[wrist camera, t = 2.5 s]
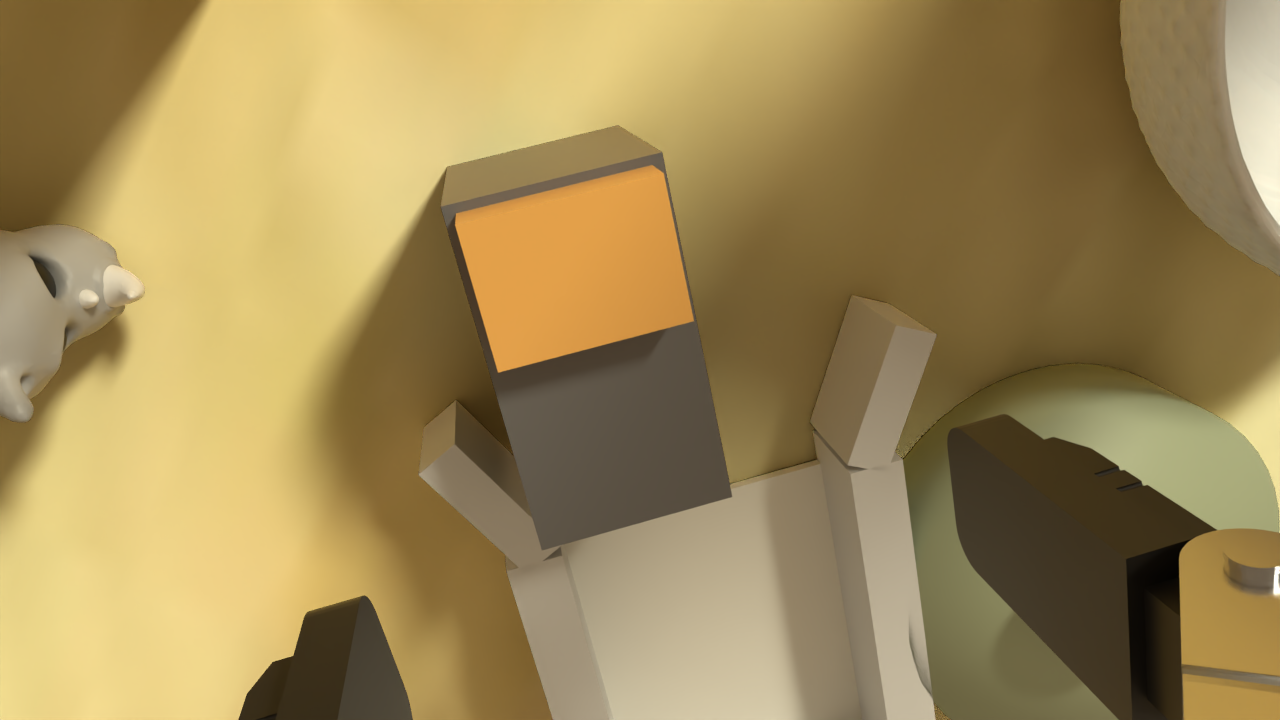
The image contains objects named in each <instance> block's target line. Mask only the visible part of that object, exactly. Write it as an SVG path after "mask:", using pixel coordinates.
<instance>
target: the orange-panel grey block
mask: <svg viewBox="0 0 1280 720" xmlns="http://www.w3.org/2000/svg"><path fill="white" fill-rule="evenodd" d="M441 210H442V213H443V217H444V220H445V223H446V227H447V230H448V234H449V237H450V240H451V244H452V247H453V251H454V254H455V257H456V261H457V264H458V268H459V271H460V274H461V278H462V281H463V285H464V288H465V291H466V295H467V298H468V301H469V305H470V308H471V312H472V315H473V318H474V322H475V325H476V329H477V332H478V335H479V339H480V342H481V346H482V349H483V352H484V356H485V359H486V363H487V366H488V369H489V373H490V376H491V379H492V383H493V386H494V390H495V393H496V396H497V400H498V403H499V407H500V410H501V413H502V417H503V420H504V424H505V427H506V430H507V434H508V437H509V441H510V444H511V447H512V451H513V454H514V457H515V461H516V464H517V468H518V471H519V474H520V478H521V481H522V485H523V488H524V491H525V495H526V498H527V502H528V505H529V508H530V512H531V515H532V519H533V522H534V525H535V529H536V532H537V536H538V539H539V542H540V546H541V549H542V550H546V549H549V548H553V547H556V546H560V545H564V544H567V543H571V542H574V541H578V540H581V539H585V538H588V537H592V536H596V535H599V534H603V533H606V532H610V531H613V530H617V529H620V528H624V527H628V526H631V525H635V524H638V523H642V522H645V521H649V520H652V519H656V518H660V517H663V516H667V515H670V514H674V513H677V512H681V511H684V510H688V509H691V508H695V507H699V506H702V505H706V504H709V503H713V502H716V501H720V500H723V499H727V498H731V497H732V492H731V488H730V483H729V478H728V473H727V468H726V463H725V458H724V453H723V448H722V443H721V438H720V434H719V429H718V424H717V419H716V414H715V409H714V404H713V399H712V394H711V389H710V384H709V380H708V375H707V370H706V365H705V360H704V355H703V350H702V345H701V340H700V335H699V330H698V326H697V321H696V316H695V311H694V306H693V301H692V296H691V291H690V286H689V281H688V277H687V272H686V267H685V262H684V257H683V252H682V247H681V242H680V237H679V232H678V227H677V223H676V218H675V213H674V208H673V203H672V198H671V193H670V188H669V183H668V178H667V173H666V169H665V164H664V159H663V154H662V152H661V151H659V150H658V149H656V148H655V147H653V146H651V145H650V144H648V143H646V142H645V141H643V140H641V139H640V138H638V137H637V136H635V135H633V134H632V133H630V132H628V131H627V130H625V129H623V128H622V127H620V126H619V125H617V126H613V127H609V128H605V129H601V130H597V131H593V132H588V133H584V134H580V135H576V136H572V137H568V138H564V139H560V140H555V141H551V142H547V143H543V144H539V145H535V146H531V147H527V148H522V149H518V150H514V151H510V152H506V153H502V154H498V155H494V156H490V157H485V158H481V159H477V160H473V161H469V162H465V163H461V164H457V165H452V166H448V167H447V171H446V177H445V183H444V189H443V195H442V201H441Z"/></svg>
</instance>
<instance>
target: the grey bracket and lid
mask: <svg viewBox="0 0 1280 720" xmlns="http://www.w3.org/2000/svg"><path fill="white" fill-rule="evenodd" d="M936 336H937V334H936V333H934V332H933V331H931V330H930V329H928V328H927V327H925V326H923V325H922V324H920V323H919V322H917V321H916V320H914V319H912V318H911V317H909V316H908V315H906V314H905V313H903V312H902V311H900V310H898V309H897V308H895V307H894V306H892V305H891V304H889V303H885V302H880V301H876V300H871V299H867V298H863V297H858V296H854V295H851V298H850V301H849V304H848V307H847V310H846V314H845V317H844V320H843V323H842V326H841V329H840V332H839V335H838V338H837V341H836V344H835V347H834V350H833V353H832V356H831V359H830V362H829V365H828V368H827V371H826V374H825V377H824V380H823V383H822V386H821V389H820V392H819V395H818V398H817V401H816V404H815V407H814V410H813V414H812V417H811V420H810V423H811V424H812V425H813V427H814V428H815V429H816V430H812V431H813V437H814V443H815V449H816V455H817V460H814V461H810V462H807V463H803V464H800V465H796V466H793V467H789V468H785V469H782V470H778V471H775V472H771V473H768V474H764V475H760V476H757V477H753V478H750V479H746V480H743V481H739V482H735V483H732V484H730V488H731V492H732V497H731V498H727V499H723V500H720V501H716V502H713V503H709V504H706V505H702V506H699V507H695V508H691V509H688V510H684V511H681V512H677V513H674V514H670V515H667V516H663V517H660V518H656V519H652V520H649V521H645V522H642V523H638V524H635V525H631V526H628V527H624V528H620V529H617V530H613V531H610V532H606V533H603V534H599V535H596V536H592V537H588V538H585V539H581V540H578V541H574V542H571V543H567V544H564V545H560V546H556V547H553V548H549V549H546V550H542V549H541V546H540V542H539V539H538V536H537V532H536V529H535V525H534V522H533V519H532V515H531V512H530V508H529V505H528V502H527V498H526V495H525V491H524V488H523V485H522V481H521V478H520V474H519V471H518V468H517V464H516V461H515V457H514V456H513V455H512V454H511V453H510V452H509V451H508V450H507V449H506V448H505V447H504V446H503V445H502V444H501V443H500V442H499V441H498V440H497V439H496V438H495V437H494V436H493V435H492V434H491V433H490V432H489V431H488V430H487V429H485V428H484V427H483V426H482V425H481V424H480V423H479V422H478V421H477V420H476V419H475V418H474V417H473V416H472V415H471V414H470V413H469V412H468V411H467V410H466V409H465V408H464V407H463V406H462V405H461V404H460V403H459V402H458V401H457V400H455V401H454V402H453V403H452V404H451V405H449V406H448V407H447V408H446V409H445V410H444V411H442V412H441V413H440V414H439V415H438V416H437V417H435V418H434V419H433V420H432V421H431V422H430V423H428V424H427V425H426V426H425V427H424V430H423V438H422V447H421V456H420V464H419V473H418V475H419V476H420V477H421V478H422V479H423V480H424V481H425V482H426V483H428V484H429V485H430V486H431V487H432V488H433V489H434V490H435V491H436V492H437V493H438V494H440V495H441V496H442V497H443V498H444V499H445V500H446V501H447V502H448V503H449V504H450V505H451V506H453V507H454V508H455V509H456V510H457V511H458V512H459V513H460V514H461V515H462V516H463V517H465V518H466V519H467V520H468V521H469V522H470V523H471V524H472V525H473V526H474V527H475V528H476V529H478V530H479V531H480V532H481V533H482V534H483V535H484V536H485V537H486V538H487V539H488V540H490V541H491V542H492V543H493V544H494V545H495V546H496V547H497V548H498V549H499V550H500V551H501V552H503V553H504V554H505V559H506V572H507V575H508V578H509V582H510V585H511V588H512V591H513V594H514V597H515V601H516V604H517V607H518V610H519V613H520V617H521V620H522V623H523V626H524V629H525V632H526V636H527V639H528V642H529V645H530V648H531V652H532V655H533V658H534V661H535V664H536V668H537V671H538V674H539V677H540V680H541V683H542V687H543V690H544V693H545V696H546V699H547V703H548V706H549V709H550V712H551V715H552V718H553V720H936V719H935V711H934V703H935V704H936V705H937V706H938V707H939V709H940V710H941V711H942V712H943V713H944V714H945V715H946V716H947V717H948V718H950V719H951V720H1118V719H1117V718H1116V717H1115V715H1114V714H1113V713H1112V712H1111V711H1110V710H1109V709H1108V708H1107V707H1106V706H1105V705H1104V704H1103V703H1102V702H1101V701H1100V700H1099V699H1098V698H1097V697H1096V696H1095V695H1094V694H1093V693H1092V692H1091V691H1090V690H1089V688H1088V687H1087V686H1086V685H1085V684H1084V683H1083V682H1082V681H1081V680H1080V679H1079V678H1078V677H1077V676H1076V675H1075V674H1074V673H1073V672H1072V671H1071V670H1070V669H1069V668H1068V667H1067V666H1066V665H1065V664H1064V663H1063V662H1062V660H1061V659H1060V658H1059V657H1058V656H1057V655H1056V654H1055V653H1054V652H1053V651H1052V650H1051V649H1050V648H1049V647H1048V646H1047V645H1046V644H1045V643H1044V642H1043V641H1042V640H1041V639H1040V638H1039V637H1038V636H1037V635H1036V633H1035V632H1034V631H1033V630H1032V629H1031V628H1030V627H1029V626H1028V625H1027V624H1026V623H1025V622H1024V621H1023V620H1022V619H1021V618H1020V617H1019V616H1018V615H1017V614H1016V613H1015V612H1014V611H1013V610H1012V609H1011V608H1010V606H1009V605H1008V604H1007V603H1006V602H1005V601H1004V600H1003V599H1002V598H1001V597H1000V596H999V595H998V594H997V593H996V592H995V591H994V590H993V589H992V588H991V587H990V586H989V585H988V584H987V583H986V582H985V581H984V580H983V578H982V577H981V576H980V575H979V574H978V573H977V572H976V571H975V570H974V568H973V567H972V566H971V564H970V562H969V561H968V559H967V557H966V555H965V553H964V551H963V548H962V546H961V543H960V540H959V537H958V533H957V527H956V520H955V511H954V502H953V493H952V484H951V475H950V466H949V458H948V448H947V438H948V434H949V431H950V430H951V429H953V428H955V427H959V426H962V425H966V424H969V423H973V422H976V421H980V420H983V419H987V418H990V417H994V416H997V415H1000V414H1006V415H1009V416H1011V417H1012V418H1014V419H1015V420H1017V421H1018V422H1020V423H1021V424H1022V425H1024V426H1025V427H1027V428H1028V429H1030V430H1031V431H1033V432H1034V433H1036V434H1037V435H1038V436H1040V437H1041V438H1043V439H1047V438H1051V437H1056V438H1059V439H1062V440H1066V441H1069V442H1072V443H1076V444H1079V445H1082V446H1086V447H1089V448H1092V449H1093V450H1095V451H1096V452H1098V453H1099V454H1101V455H1103V456H1104V457H1106V458H1107V459H1109V460H1110V461H1112V462H1113V463H1115V464H1116V465H1118V466H1119V469H1120V470H1126V471H1127V472H1129V473H1130V474H1132V475H1133V476H1135V477H1136V478H1138V479H1139V480H1141V481H1142V484H1143V485H1144V486H1145V485H1149V486H1150V487H1152V488H1153V489H1155V490H1156V491H1158V492H1160V493H1161V494H1163V495H1164V496H1166V497H1167V498H1169V499H1170V500H1172V501H1173V502H1175V503H1176V504H1178V505H1180V506H1181V507H1183V508H1184V509H1186V510H1187V511H1189V512H1190V513H1192V514H1193V515H1195V516H1196V517H1198V518H1200V519H1201V520H1203V521H1204V522H1206V523H1207V524H1209V525H1210V526H1212V527H1213V528H1215V529H1217V530H1223V529H1235V528H1246V529H1260V530H1267V531H1273V532H1278V533H1279V508H1278V503H1277V498H1276V492H1275V488H1274V485H1273V482H1272V480H1271V477H1270V474H1269V471H1268V469H1267V467H1266V465H1265V464H1264V462H1263V460H1262V458H1261V457H1260V455H1259V453H1258V452H1257V450H1256V449H1255V448H1254V447H1253V446H1252V444H1251V443H1250V442H1249V441H1248V440H1247V438H1246V437H1245V436H1244V435H1243V434H1241V433H1240V432H1239V431H1238V430H1237V429H1235V428H1234V427H1233V426H1232V425H1231V424H1230V423H1228V422H1226V421H1225V420H1223V419H1221V418H1219V417H1218V416H1216V415H1214V414H1212V413H1211V412H1209V411H1207V410H1205V409H1203V408H1201V407H1199V406H1197V405H1195V404H1193V403H1191V402H1189V401H1187V400H1185V399H1183V398H1181V397H1179V396H1177V395H1175V394H1174V393H1172V392H1170V391H1168V390H1166V389H1164V388H1162V387H1160V386H1158V385H1156V384H1154V383H1152V382H1150V381H1148V380H1146V379H1144V378H1142V377H1140V376H1138V375H1135V374H1132V373H1130V372H1127V371H1124V370H1122V369H1118V368H1113V367H1108V366H1103V365H1096V364H1078V363H1075V364H1063V365H1052V366H1047V367H1043V368H1038V369H1033V370H1029V371H1026V372H1023V373H1020V374H1017V375H1014V376H1011V377H1008V378H1006V379H1003V380H1001V381H999V382H997V383H995V384H993V385H991V386H989V387H987V388H985V389H983V390H981V391H979V392H978V393H976V394H974V395H973V396H971V397H970V398H968V399H966V400H965V401H963V402H962V403H960V404H959V405H958V406H956V407H955V408H954V409H953V410H951V411H950V412H949V413H947V414H946V415H945V416H944V417H942V418H941V419H940V420H939V421H938V422H937V423H936V424H935V425H934V426H933V427H932V428H931V429H930V430H929V431H928V432H927V433H926V434H925V435H924V436H923V437H922V438H921V439H920V440H919V441H918V442H917V444H916V445H915V446H914V447H913V449H912V450H911V451H910V452H909V453H908V455H907V456H906V457H905V459H904V460H903V459H902V458H901V457H900V456H899V455H898V454H897V453H896V452H895V450H896V447H897V444H898V441H899V439H900V436H901V433H902V430H903V428H904V425H905V422H906V419H907V417H908V414H909V411H910V408H911V405H912V403H913V400H914V397H915V394H916V392H917V389H918V386H919V383H920V381H921V378H922V375H923V372H924V369H925V367H926V364H927V361H928V358H929V356H930V353H931V350H932V347H933V345H934V342H935V339H936ZM933 702H934V703H933Z"/></svg>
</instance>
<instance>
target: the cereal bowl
mask: <svg viewBox="0 0 1280 720" xmlns="http://www.w3.org/2000/svg"><path fill="white" fill-rule="evenodd" d="M1120 27H1121V33H1122V34H1121V47H1122V50H1123V60H1124V66H1125V80H1126V82H1127V83H1128V87H1129V90H1130V99H1131V101H1132V109H1133V111H1134V112H1135V114H1136V116H1137V118H1138V122H1139V129H1140V130H1141V132H1142V133H1143V134H1144V136H1145V141H1146V143H1147V144H1148V146H1149V147H1150V151H1151V154H1152V155H1153V156H1154V158H1155V161H1156V164H1157V165H1158V167H1159V168H1160V169H1161V170H1162V171H1163V173H1164V174H1165V176H1166V178H1167V180H1168V182H1169V184H1170V185H1171V186H1172V187H1173V189H1174V190H1175V191H1176V192H1177V193H1178V194H1179V195H1180V197H1181V198H1182V200H1183V202H1184V203H1185V204H1186V205H1187V207H1188V209H1190V210H1191V211H1192V212H1193V213H1194V214H1195V215H1197V216H1198V217H1199V218H1200V219H1201V221H1202V222H1203V223H1204V225H1205V226H1207V227H1208V228H1210V229H1211V230H1213V231H1214V232H1216V233H1217V234H1219V235H1220V236H1221V237H1222V238H1223V239H1224V240H1225V241H1226V242H1227V243H1228V244H1229V245H1231V246H1232V247H1234V248H1235V249H1237V250H1239V251H1241V252H1243V253H1244V254H1245V255H1247V256H1248V257H1249V258H1250V259H1252V260H1253V261H1254V262H1256V263H1258V264H1261V265H1263V266H1265V267H1267V268H1268V269H1270V270H1271V271H1273V272H1274V273H1275V274H1277V275H1279V276H1280V0H1121V2H1120Z"/></svg>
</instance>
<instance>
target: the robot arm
mask: <svg viewBox="0 0 1280 720" xmlns="http://www.w3.org/2000/svg"><path fill="white" fill-rule="evenodd" d="M947 448H948V458H949V466H950V475H951V484H952V493H953V502H954V511H955V520H956V527H957V533H958V537H959V540H960V543H961V546H962V548H963V551H964V553H965V555H966V557H967V559H968V561H969V562H970V564H971V566H972V567H973V568H974V570H975V571H976V572H977V573H978V574H979V575H980V576H981V577H982V578H983V580H984V581H985V582H986V583H987V584H988V585H989V586H990V587H991V588H992V589H993V590H994V591H995V592H996V593H997V594H998V595H999V596H1000V597H1001V598H1002V599H1003V600H1004V601H1005V602H1006V603H1007V604H1008V605H1009V606H1010V608H1011V609H1012V610H1013V611H1014V612H1015V613H1016V614H1017V615H1018V616H1019V617H1020V618H1021V619H1022V620H1023V621H1024V622H1025V623H1026V624H1027V625H1028V626H1029V627H1030V628H1031V629H1032V630H1033V631H1034V632H1035V633H1036V635H1037V636H1038V637H1039V638H1040V639H1041V640H1042V641H1043V642H1044V643H1045V644H1046V645H1047V646H1048V647H1049V648H1050V649H1051V650H1052V651H1053V652H1054V653H1055V654H1056V655H1057V656H1058V657H1059V658H1060V659H1061V660H1062V662H1063V663H1064V664H1065V665H1066V666H1067V667H1068V668H1069V669H1070V670H1071V671H1072V672H1073V673H1074V674H1075V675H1076V676H1077V677H1078V678H1079V679H1080V680H1081V681H1082V682H1083V683H1084V684H1085V685H1086V686H1087V687H1088V688H1089V690H1090V691H1091V692H1092V693H1093V694H1094V695H1095V696H1096V697H1097V698H1098V699H1099V700H1100V701H1101V702H1102V703H1103V704H1104V705H1105V706H1106V707H1107V708H1108V709H1109V710H1110V711H1111V712H1112V713H1113V714H1114V715H1115V717H1116V718H1117V719H1118V720H1280V533H1278V532H1273V531H1267V530H1260V529H1246V528H1235V529H1223V530H1217V529H1215V528H1213V527H1212V526H1210V525H1209V524H1207V523H1206V522H1204V521H1203V520H1201V519H1200V518H1198V517H1196V516H1195V515H1193V514H1192V513H1190V512H1189V511H1187V510H1186V509H1184V508H1183V507H1181V506H1180V505H1178V504H1176V503H1175V502H1173V501H1172V500H1170V499H1169V498H1167V497H1166V496H1164V495H1163V494H1161V493H1160V492H1158V491H1156V490H1155V489H1153V488H1152V487H1150V486H1149V485H1145V486H1144V485H1143V484H1142V481H1141V480H1139V479H1138V478H1136V477H1135V476H1133V475H1132V474H1130V473H1129V472H1127V471H1126V470H1120V469H1119V466H1118V465H1116V464H1115V463H1113V462H1112V461H1110V460H1109V459H1107V458H1106V457H1104V456H1103V455H1101V454H1099V453H1098V452H1096V451H1095V450H1093V449H1092V448H1089V447H1086V446H1082V445H1079V444H1076V443H1072V442H1069V441H1066V440H1062V439H1059V438H1056V437H1051V438H1047V439H1043V438H1041V437H1040V436H1038V435H1037V434H1036V433H1034V432H1033V431H1031V430H1030V429H1028V428H1027V427H1025V426H1024V425H1022V424H1021V423H1020V422H1018V421H1017V420H1015V419H1014V418H1012V417H1011V416H1009V415H1006V414H1000V415H997V416H994V417H990V418H987V419H983V420H980V421H976V422H973V423H969V424H966V425H962V426H959V427H955V428H953V429H951V430H950V431H949V434H948V438H947ZM239 720H413V719H412V713H411V708H410V704H409V700H408V696H407V693H406V690H405V687H404V684H403V682H402V679H401V676H400V674H399V671H398V669H397V666H396V663H395V661H394V658H393V655H392V653H391V650H390V648H389V645H388V642H387V640H386V637H385V635H384V632H383V629H382V627H381V624H380V621H379V619H378V616H377V614H376V611H375V609H374V607H373V605H372V603H371V601H370V600H369V599H368V597H366V596H361V597H357V598H354V599H350V600H347V601H343V602H340V603H336V604H333V605H329V606H326V607H322V608H319V609H315V610H312V611H309V612H307V613H306V615H305V617H304V620H303V624H302V627H301V631H300V634H299V638H298V642H297V645H296V649H295V652H294V656H292V657H289V658H285V659H282V660H278V661H275V662H272V664H271V665H270V666H269V667H268V669H267V670H266V671H265V672H264V674H263V675H262V676H261V677H260V679H259V680H258V681H257V682H256V684H255V685H254V686H253V687H252V688H251V690H250V691H249V692H248V693H247V696H246V699H245V702H244V705H243V708H242V711H241V714H240V717H239Z"/></svg>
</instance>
